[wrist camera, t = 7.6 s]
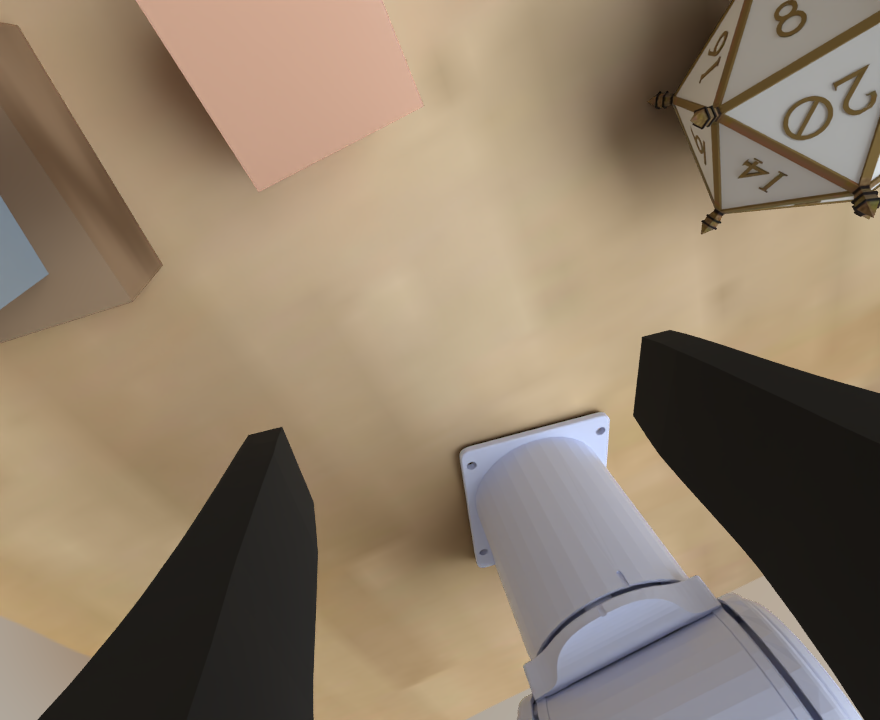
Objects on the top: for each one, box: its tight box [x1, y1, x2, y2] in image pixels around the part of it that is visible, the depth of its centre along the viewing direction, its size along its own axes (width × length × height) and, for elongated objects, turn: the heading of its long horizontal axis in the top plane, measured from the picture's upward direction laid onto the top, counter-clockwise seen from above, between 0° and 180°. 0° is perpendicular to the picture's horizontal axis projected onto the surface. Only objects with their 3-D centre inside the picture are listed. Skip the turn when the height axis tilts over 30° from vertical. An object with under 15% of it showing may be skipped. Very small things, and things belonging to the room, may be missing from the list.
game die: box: [647, 0, 880, 234], centre depth 14 cm, size 9×8×10 cm
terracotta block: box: [136, 0, 424, 192], centre depth 12 cm, size 4×4×5 cm
